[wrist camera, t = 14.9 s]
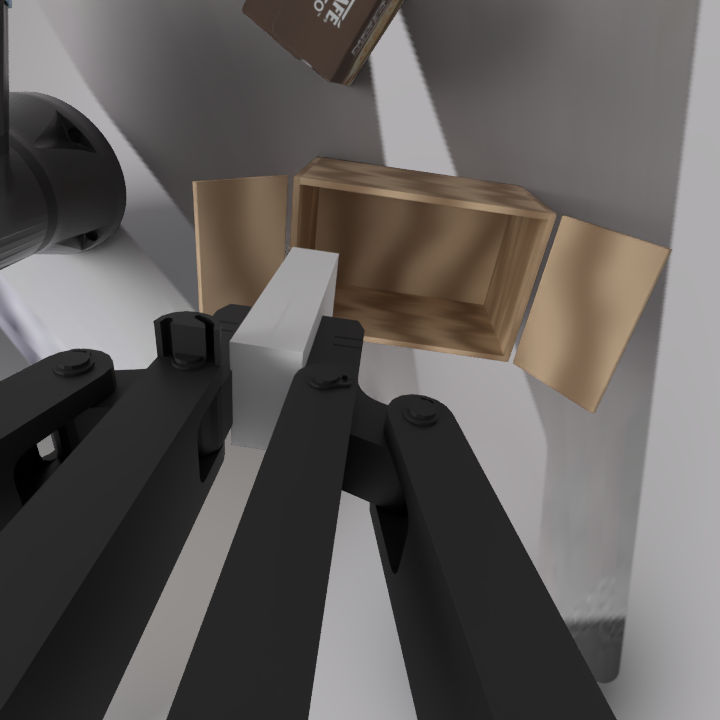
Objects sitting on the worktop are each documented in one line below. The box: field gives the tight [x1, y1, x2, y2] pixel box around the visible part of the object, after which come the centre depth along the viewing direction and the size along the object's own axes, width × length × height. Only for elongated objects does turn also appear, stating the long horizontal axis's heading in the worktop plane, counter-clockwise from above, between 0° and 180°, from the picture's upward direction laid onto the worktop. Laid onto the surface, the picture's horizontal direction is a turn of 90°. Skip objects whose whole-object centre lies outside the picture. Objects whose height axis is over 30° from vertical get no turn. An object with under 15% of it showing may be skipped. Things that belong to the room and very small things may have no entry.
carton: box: [290, 157, 557, 362], centre depth 44 cm, size 20×13×12 cm, turn 83°
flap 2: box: [513, 215, 672, 414], centre depth 36 cm, size 8×13×1 cm
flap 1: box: [193, 175, 288, 316], centre depth 36 cm, size 8×13×1 cm
